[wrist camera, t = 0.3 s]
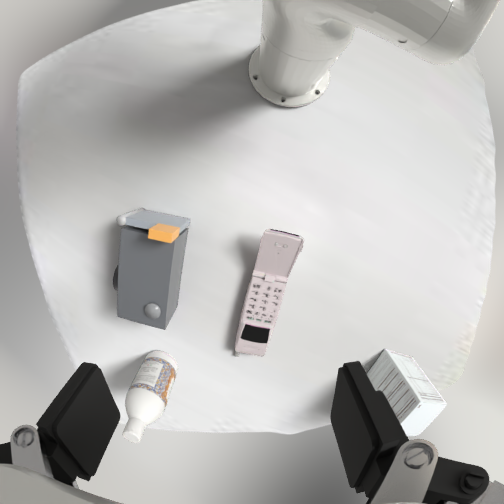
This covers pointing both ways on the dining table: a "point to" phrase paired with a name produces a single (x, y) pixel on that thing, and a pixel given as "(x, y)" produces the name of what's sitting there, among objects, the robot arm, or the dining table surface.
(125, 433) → the bath foam
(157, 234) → the side door
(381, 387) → the supplement box
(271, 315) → the mobile phone
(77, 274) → the dining table surface
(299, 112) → the dining table surface
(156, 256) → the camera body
